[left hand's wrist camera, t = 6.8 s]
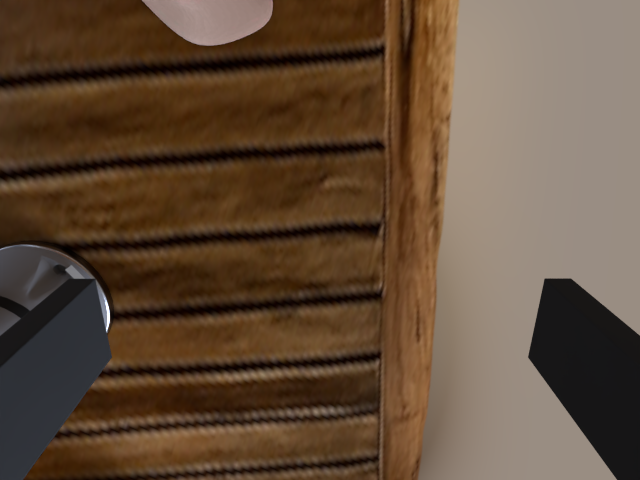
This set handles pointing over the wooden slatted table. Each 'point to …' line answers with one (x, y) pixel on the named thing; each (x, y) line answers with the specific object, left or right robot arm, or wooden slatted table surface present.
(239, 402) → the wooden slatted table surface
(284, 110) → the wooden slatted table surface
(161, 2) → the anatomical model
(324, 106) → the wooden slatted table surface
